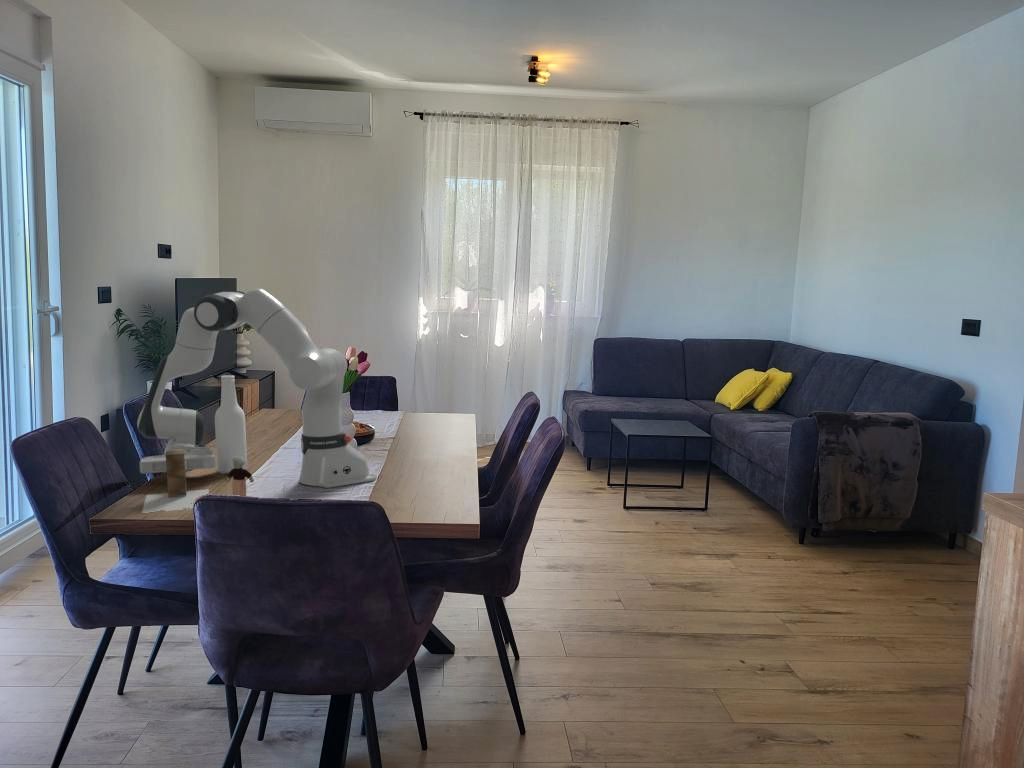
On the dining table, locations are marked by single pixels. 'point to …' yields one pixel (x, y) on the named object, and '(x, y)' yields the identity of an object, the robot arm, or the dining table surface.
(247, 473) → the grandmother figurine
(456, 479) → the dining table surface
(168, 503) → the felt mat
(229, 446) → the alcohol
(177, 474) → the walnut block
